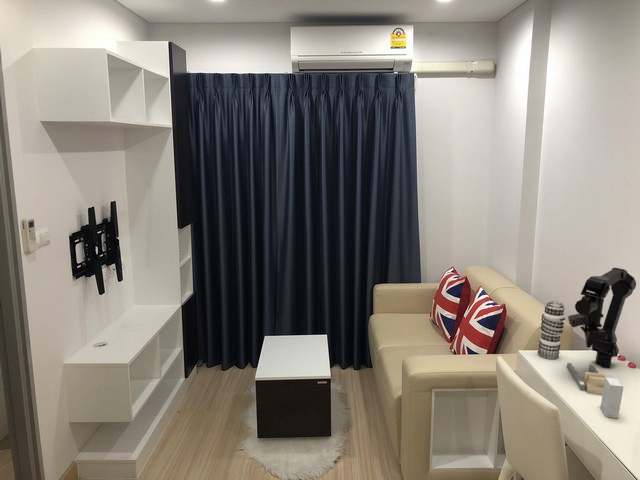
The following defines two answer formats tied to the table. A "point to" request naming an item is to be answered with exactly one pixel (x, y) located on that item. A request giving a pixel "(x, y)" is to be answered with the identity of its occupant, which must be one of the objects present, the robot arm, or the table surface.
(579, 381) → the chute
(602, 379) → the block
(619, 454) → the table surface
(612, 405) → the skincare box
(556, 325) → the banded tower model
